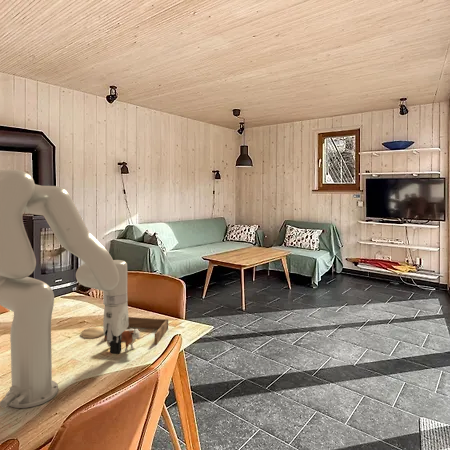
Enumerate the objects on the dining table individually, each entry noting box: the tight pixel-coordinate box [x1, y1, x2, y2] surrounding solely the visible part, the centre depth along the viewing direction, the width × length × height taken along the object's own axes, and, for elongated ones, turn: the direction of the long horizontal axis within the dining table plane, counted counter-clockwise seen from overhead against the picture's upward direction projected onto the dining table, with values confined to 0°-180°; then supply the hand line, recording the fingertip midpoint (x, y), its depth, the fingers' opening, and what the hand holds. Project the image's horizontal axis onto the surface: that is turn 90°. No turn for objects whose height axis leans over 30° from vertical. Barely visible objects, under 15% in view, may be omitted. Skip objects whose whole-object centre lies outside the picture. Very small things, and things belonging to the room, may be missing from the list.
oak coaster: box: [80, 326, 105, 339], centre depth 140 cm, size 9×9×1 cm
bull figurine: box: [104, 328, 142, 353], centre depth 126 cm, size 4×13×8 cm, turn 79°
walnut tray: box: [104, 316, 169, 346], centre depth 140 cm, size 16×20×4 cm
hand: (115, 352), depth 119 cm, fingers closed
